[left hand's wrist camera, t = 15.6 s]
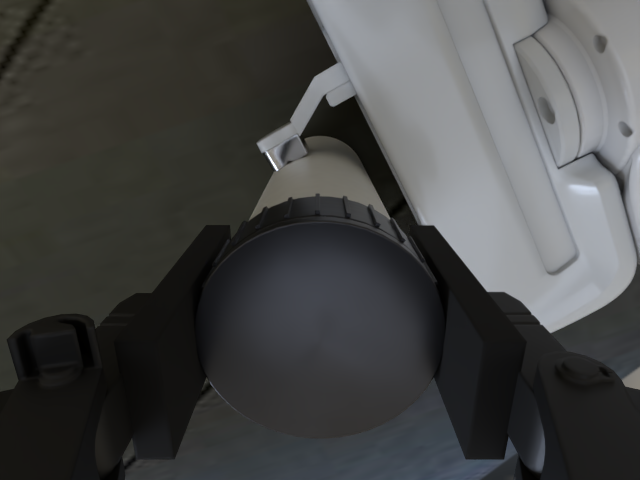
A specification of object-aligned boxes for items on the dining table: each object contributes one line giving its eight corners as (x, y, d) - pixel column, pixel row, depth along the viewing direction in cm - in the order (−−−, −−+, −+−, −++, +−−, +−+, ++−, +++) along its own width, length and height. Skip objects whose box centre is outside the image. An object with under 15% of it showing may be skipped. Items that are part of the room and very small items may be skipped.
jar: (344, 236, 27) (377, 438, 12) (263, 206, 26) (183, 379, 11) (379, 155, 25) (471, 268, 10) (293, 121, 25) (248, 186, 9)
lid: (473, 290, 12) (504, 333, 10) (327, 418, 13) (328, 478, 11) (312, 143, 10) (309, 157, 8) (169, 304, 12) (139, 348, 10)
